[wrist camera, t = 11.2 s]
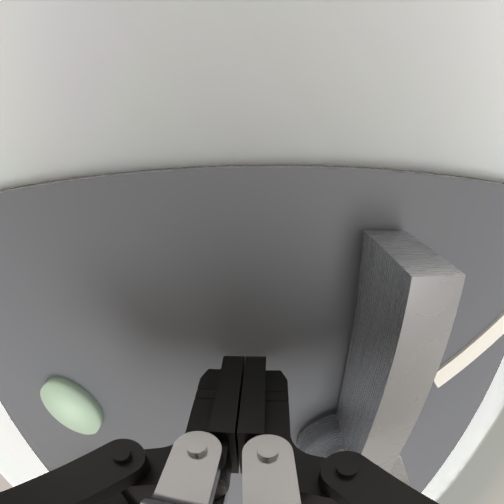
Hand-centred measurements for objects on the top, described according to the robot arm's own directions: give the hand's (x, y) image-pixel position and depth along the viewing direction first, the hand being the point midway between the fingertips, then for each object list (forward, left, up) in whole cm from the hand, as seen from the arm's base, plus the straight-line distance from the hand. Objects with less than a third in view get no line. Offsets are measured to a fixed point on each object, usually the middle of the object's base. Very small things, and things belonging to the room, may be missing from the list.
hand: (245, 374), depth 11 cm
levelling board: (+7, -3, -3) cm, 9 cm away
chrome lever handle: (+2, +5, -1) cm, 5 cm away
